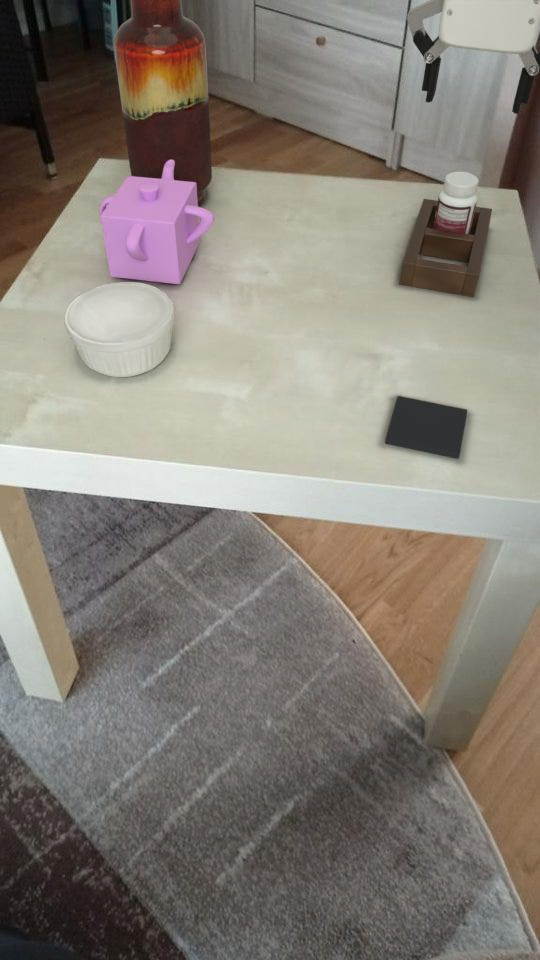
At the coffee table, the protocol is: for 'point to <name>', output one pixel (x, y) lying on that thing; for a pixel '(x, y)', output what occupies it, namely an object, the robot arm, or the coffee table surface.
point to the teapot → (153, 227)
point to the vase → (164, 93)
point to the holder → (445, 253)
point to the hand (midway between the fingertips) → (472, 103)
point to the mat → (427, 427)
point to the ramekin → (121, 327)
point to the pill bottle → (457, 203)
